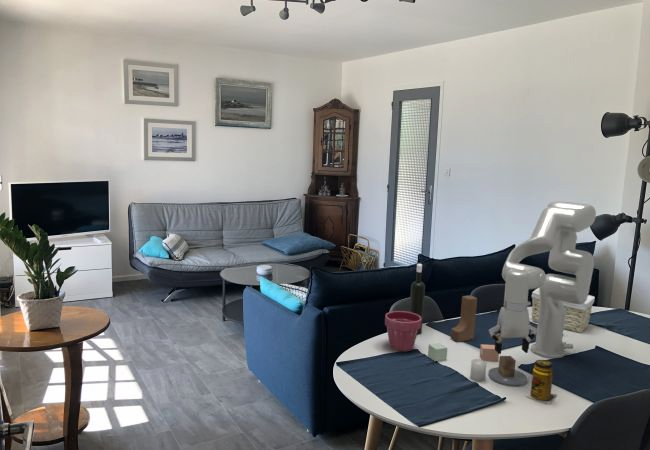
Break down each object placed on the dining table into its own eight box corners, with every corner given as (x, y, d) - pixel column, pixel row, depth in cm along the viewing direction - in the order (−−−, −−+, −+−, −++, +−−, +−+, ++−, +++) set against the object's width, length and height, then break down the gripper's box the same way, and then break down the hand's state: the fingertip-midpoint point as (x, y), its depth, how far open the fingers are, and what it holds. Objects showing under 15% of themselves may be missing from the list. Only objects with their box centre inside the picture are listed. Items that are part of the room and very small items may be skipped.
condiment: (525, 397, 172) (529, 362, 170) (534, 388, 178) (538, 354, 176) (548, 404, 167) (552, 369, 165) (557, 395, 174) (561, 361, 172)
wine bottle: (418, 335, 222) (423, 266, 217) (405, 332, 225) (410, 264, 220) (423, 331, 227) (428, 263, 222) (411, 328, 230) (415, 261, 225)
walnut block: (508, 371, 188) (510, 355, 187) (514, 376, 184) (515, 360, 183) (498, 371, 187) (499, 355, 186) (503, 376, 183) (504, 360, 182)
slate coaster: (516, 369, 192) (516, 367, 192) (534, 386, 180) (534, 383, 179) (482, 370, 191) (482, 367, 191) (497, 386, 178) (498, 384, 178)
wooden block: (457, 342, 216) (461, 300, 213) (450, 338, 220) (453, 297, 217) (474, 339, 220) (477, 297, 217) (466, 335, 224) (470, 294, 221)
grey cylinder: (481, 375, 187) (483, 359, 186) (487, 381, 182) (488, 365, 181) (467, 375, 186) (469, 359, 185) (473, 381, 181) (474, 365, 180)
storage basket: (592, 326, 243) (596, 295, 240) (583, 335, 230) (587, 303, 228) (539, 313, 257) (542, 284, 255) (527, 321, 245) (531, 291, 243)
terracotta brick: (495, 357, 203) (496, 345, 202) (498, 361, 199) (499, 349, 198) (479, 356, 203) (480, 344, 202) (482, 360, 199) (483, 348, 198)
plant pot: (398, 337, 219) (400, 308, 217) (426, 348, 209) (428, 317, 207) (376, 346, 209) (377, 315, 207) (404, 357, 199) (406, 325, 197)
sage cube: (438, 355, 203) (439, 342, 202) (446, 360, 198) (447, 347, 197) (427, 356, 201) (428, 344, 200) (435, 362, 196) (436, 349, 196)
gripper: (533, 300, 186) (529, 346, 189) (486, 302, 184) (483, 348, 187) (544, 308, 178) (540, 355, 182) (495, 309, 176) (492, 357, 180)
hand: (511, 351), depth 184 cm, fingers open, 9 cm apart
